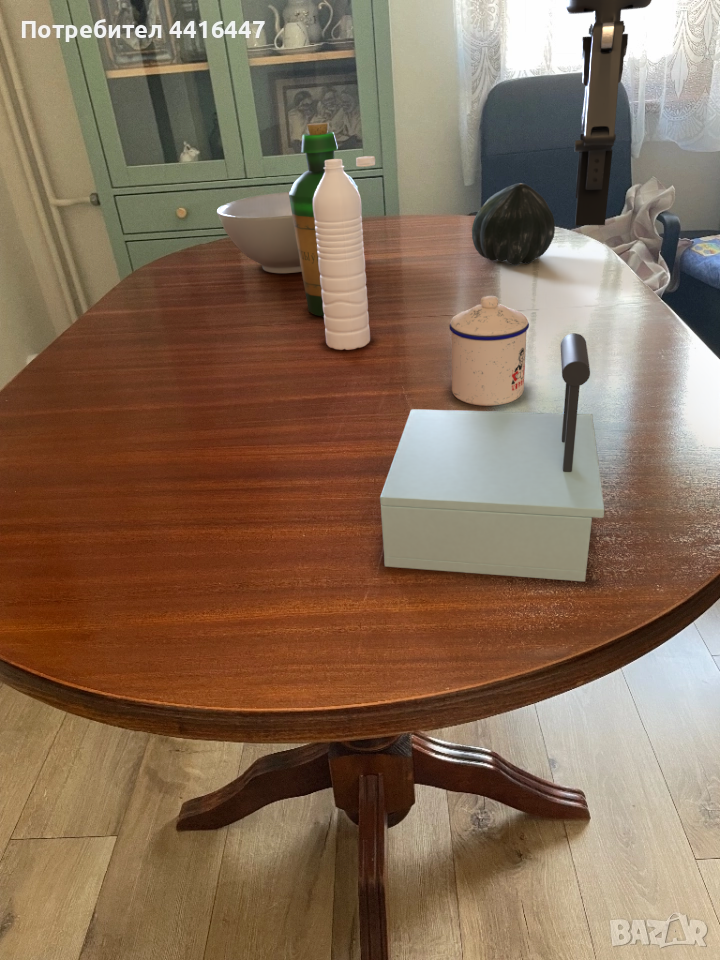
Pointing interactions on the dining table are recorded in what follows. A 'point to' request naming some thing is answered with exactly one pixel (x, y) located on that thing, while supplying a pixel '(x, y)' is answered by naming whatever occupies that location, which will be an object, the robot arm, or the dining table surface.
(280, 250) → the decorative bowl
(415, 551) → the pale green box base
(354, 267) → the water bottle
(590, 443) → the lid
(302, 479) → the dining table surface
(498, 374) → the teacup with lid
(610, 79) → the robot arm
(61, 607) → the dining table surface
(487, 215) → the squash
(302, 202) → the bottle
